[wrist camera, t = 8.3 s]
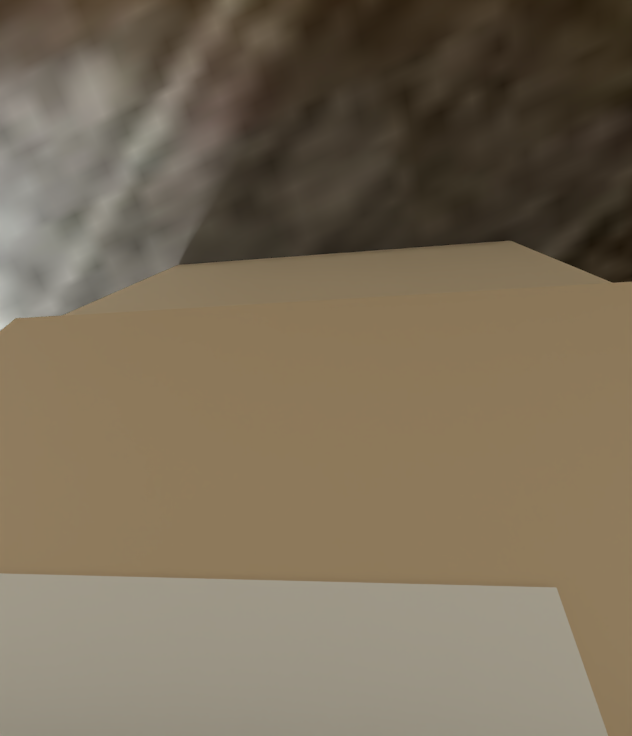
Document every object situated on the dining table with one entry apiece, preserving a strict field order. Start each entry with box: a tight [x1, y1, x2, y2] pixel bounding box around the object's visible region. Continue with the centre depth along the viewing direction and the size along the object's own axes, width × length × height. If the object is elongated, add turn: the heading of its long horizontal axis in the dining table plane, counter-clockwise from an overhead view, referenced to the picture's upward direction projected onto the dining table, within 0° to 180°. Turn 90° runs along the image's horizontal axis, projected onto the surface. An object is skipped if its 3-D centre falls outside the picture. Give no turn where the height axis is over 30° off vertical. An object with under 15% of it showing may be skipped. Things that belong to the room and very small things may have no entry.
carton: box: [62, 241, 612, 316], centre depth 23 cm, size 22×18×12 cm
